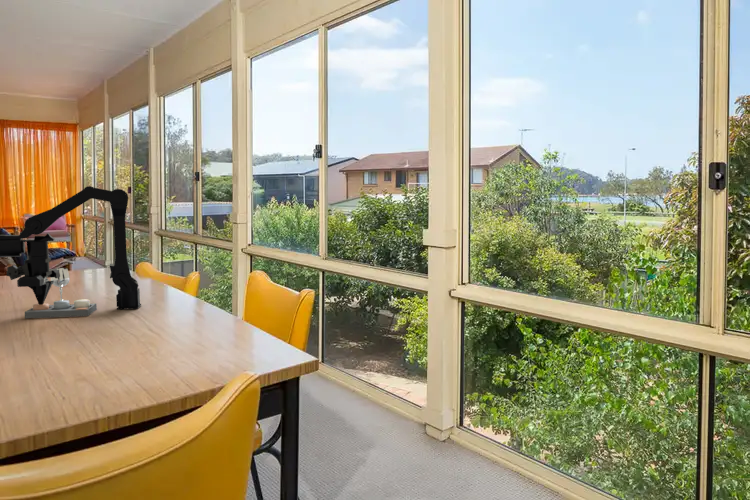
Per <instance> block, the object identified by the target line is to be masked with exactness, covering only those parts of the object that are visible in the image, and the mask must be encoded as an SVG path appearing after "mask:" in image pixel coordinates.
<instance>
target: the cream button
mask: <svg viewBox="0 0 750 500" xmlns="http://www.w3.org/2000/svg"><path fill="white" fill-rule="evenodd" d="M90 302H91V301H90V299H76V300H74V302H73V304H74V309H77V308H86V307H88V308H89V307H90V304H91V303H90Z"/></svg>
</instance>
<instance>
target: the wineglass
mask: <svg viewBox="0 0 750 500" xmlns="http://www.w3.org/2000/svg"><path fill="white" fill-rule="evenodd" d="M55 269H57V270H58V271H59V273H60V277H59V278H55V277H50V281H54V282H53V283H52V285H53V286H54V287H57V288H59V289H58V290H59V295H60V299H59V300H64V299H63V287H65V286H67V285H68V284H69V283H70V273H69V269H68V268H67V267H59V268H57V267H56V268H55Z"/></svg>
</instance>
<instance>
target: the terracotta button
mask: <svg viewBox="0 0 750 500" xmlns="http://www.w3.org/2000/svg"><path fill="white" fill-rule="evenodd" d="M49 305H50V303H48V302H44V304H42V305H39V304H38V303H34V304H32V308H33V310H47V309H49Z"/></svg>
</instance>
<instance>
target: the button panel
mask: <svg viewBox="0 0 750 500" xmlns="http://www.w3.org/2000/svg"><path fill="white" fill-rule="evenodd" d="M69 305H70V308H68V309H54V304H49V309H47V310H33V307H31V308H29V309H28V310H26V311H24V319H40V318H41V319H44V318H45V319H47V318H68V317H69V318H71V317H75V318H76V317H89V316H90V315H91V314H93V313H94V312H96V311H97V303H90V307H89V308H88V307H86V308H77V309H74V303H73V304H70V303H69Z"/></svg>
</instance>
